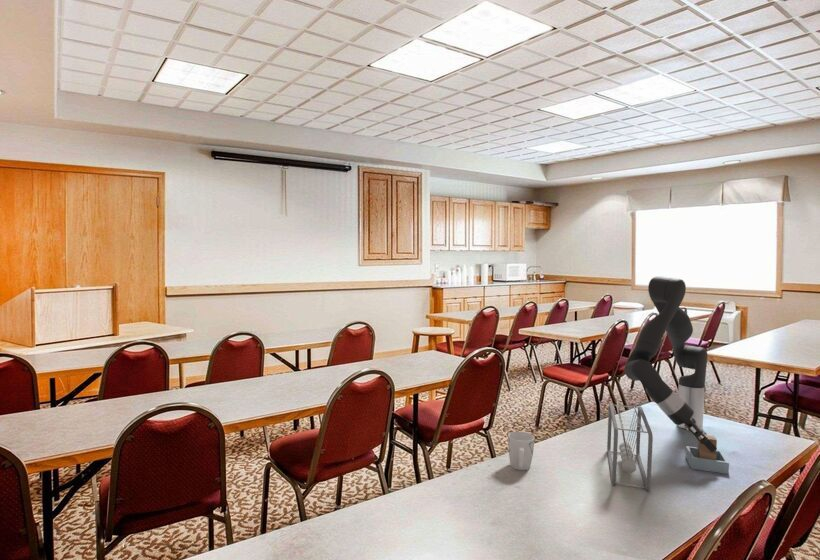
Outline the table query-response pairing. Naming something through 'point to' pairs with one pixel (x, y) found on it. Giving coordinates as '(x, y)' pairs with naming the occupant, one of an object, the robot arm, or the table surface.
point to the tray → (707, 461)
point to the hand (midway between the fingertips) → (711, 445)
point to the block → (704, 451)
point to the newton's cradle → (626, 448)
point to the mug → (520, 449)
